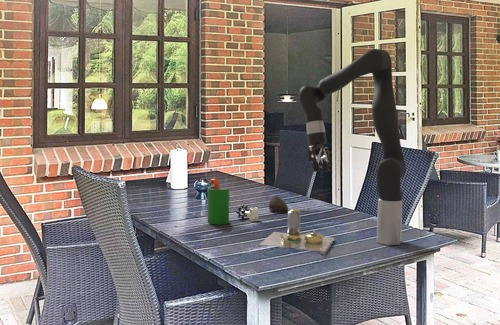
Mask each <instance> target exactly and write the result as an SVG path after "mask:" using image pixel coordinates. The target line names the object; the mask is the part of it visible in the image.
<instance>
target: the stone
mask: <svg viewBox="0 0 500 325" xmlns="http://www.w3.org/2000/svg"><path fill="white" fill-rule="evenodd" d="M268 210H269V211H271V212H282V211H285V212H288V211H289V208H288V204H287V203H286V202H285V201H284V200H283V199H282V198H280V197H279V196H277V195H275V196H272V197H271V198H270V199H269V201H268Z"/></svg>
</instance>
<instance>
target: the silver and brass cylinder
mask: <svg viewBox="0 0 500 325" xmlns="http://www.w3.org/2000/svg"><path fill="white" fill-rule="evenodd" d="M285 233H286V239H287V240H289V241H299V240H301V235H302V233H301V210H299V209H296V208H292V209H290V210H289V209H288V211H287V232H285Z"/></svg>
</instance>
